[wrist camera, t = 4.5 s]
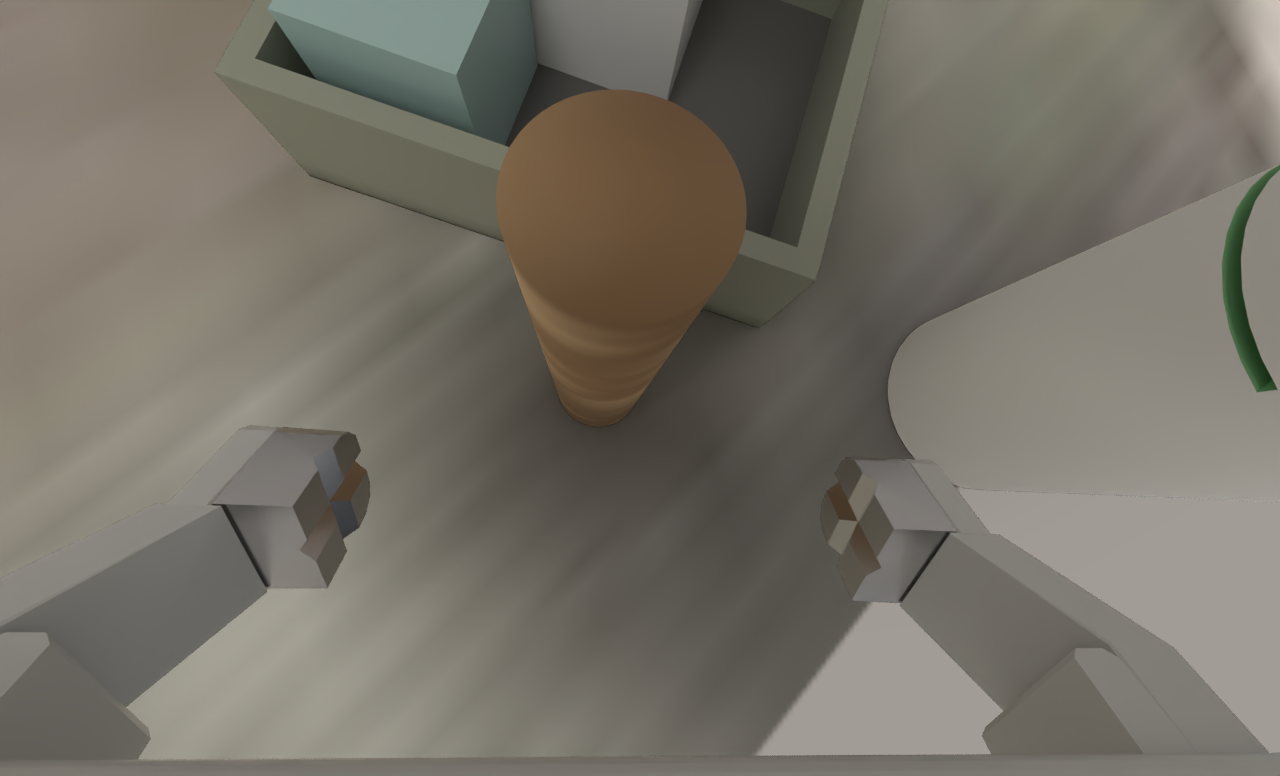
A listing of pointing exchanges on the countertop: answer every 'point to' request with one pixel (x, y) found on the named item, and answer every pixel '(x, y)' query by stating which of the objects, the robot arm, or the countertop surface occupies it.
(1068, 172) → the countertop surface
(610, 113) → the brown wooden cylinder
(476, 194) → the grey open box
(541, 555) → the countertop surface
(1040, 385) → the cylindrical container
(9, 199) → the countertop surface
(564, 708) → the countertop surface
